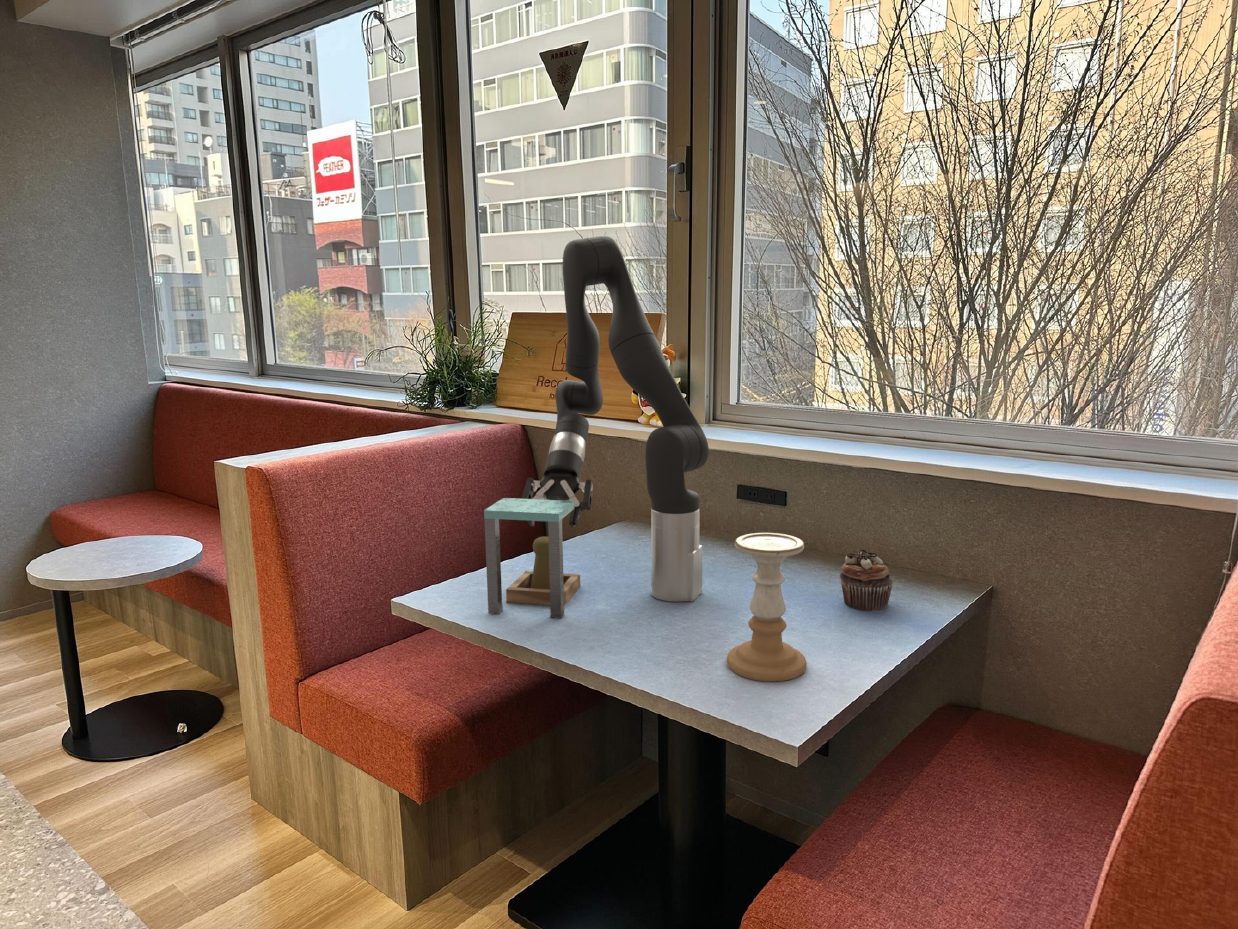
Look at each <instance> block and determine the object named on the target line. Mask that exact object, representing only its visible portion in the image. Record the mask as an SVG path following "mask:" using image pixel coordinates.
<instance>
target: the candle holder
mask: <svg viewBox="0 0 1238 929" xmlns="http://www.w3.org/2000/svg"><path fill="white" fill-rule="evenodd" d="M734 546H735V549H736V550H737V551H738V552H741V553H743V554H745V555H749V556H751V557H752V559H753V560H754V561H755V562H756V567H757V568H756V571H755V572H754V573H753V574H752V575H751V580H752V581H753V582H755V587H754V591H753V595H752V597H751V600H750V604H749V610H750V613H751V614H752V617H751V618H750V619H749V620H748V622H747V624H748V627H749V629H750V630H751V631H752V635H751V640H747V641H744V642H742V643H741V644H740V645H736V646H735V647H733V648H732V649H730V650H729V651H728V653H727V655H726V663H727V667H728V668H729V669H730V670H731V672H734V674H736V675H738V676H740V677H744V678H746V679H748V680H749V679H751V680H754V681H761V682H783V681H788V680H789V681H790V680H794V679H796V678H799V677H800V676H801V675H803V674H804V673H805V672H806V669H807V663H808V662H807V659H806V656H805V655H804V654H803V653H802V652H801V651H800V650H798V649H796V648H794V647H793V646H792V645H790V644H789V643H787V642H783V635H782V633H783V632H784V631H785V630H786V629H787V625H788V624H787V622H786V620H784V619H783V616H784V614H785V613H786V609H787V608H786V607H787V606H786V603H785V600H784V596H783V592H782V584H783V583H784V582H785V580H786V576H785V575H784V574H783V573H782V572H781V564H782V563H783V562H784V561H785V560H786V558H787V557H792V556H796V555H798V554H801V553H803V550H804V548H805V543H804V541H803V540H802V539H801V538H798V537H796V536H793V535H789V534H785V533H778V532H754V533H753V532H752V533H751V532H750V533H746V534H743V535H740V536H738V537H736V539H735V541H734Z"/></svg>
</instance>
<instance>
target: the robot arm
mask: <svg viewBox="0 0 1238 929" xmlns="http://www.w3.org/2000/svg"><path fill="white" fill-rule="evenodd" d="M562 278H563V279H562V281H563V291H564V292H563V293H564V302H565V304H564V306H565V313H566V314H565V316H566V326H567V330H566V332H567V340H566V352H565V353H566V354H565V371H566V373H568V374H569V376H572V378H573V377H574V378H576V379H578V380H574V379H572V380H571V379H565V380H562V381H561V382H559V383H558V385H557V386H556V389H555V392H554V394H555V396H554V397H555V405H556V414H557V416H556V425H555V430H554V432H553V433H554V434H553V438H552V440H551V442H550V446H549V449H548V455H547V459H546V463H545V467H544V472H543V476H542V478H541V479H540V480H534V479H533V478H532V477H528V478H527V480H526V482H525V486H524V489H523V492H522V495H521V498H520V499H541V500H564V501H574V509H573V510H572V511H571V512H570V514H569V515H570V516H569V521H568V522H569V523H568V525H569V526H570V529H575V527H576V526H578V525H579V523H580V517H581V513H582V512H583V511H591V509H592V503H593V497H594V496H593V495H594V485H593V482H592V480H591V479H589V478H588V479H586V480H585V481H580V480H581V476H582V475H581V474H582V469H583V465H584V461H585V458H586V457H585V456H586V444H587V439H588V434H589V430H590V429H589V428H590V424H589V421H588V419H587V418H586V417H585V416H583V415H588V416H595V415H596V414H598V413H599V412H600V411H601V409H602V407H603V404H604V394H603V390H602V385H601V381H600V376H599V361H600V360H599V359H600V351H601V350H600V348H601V339H600V334H599V331H598V328H597V325H596V324H595V322H594V321H593V318H592V316H591V314H589V311H588V309H587V306H586V299H585V296H586V288H587V287H590V286H595V285H602V284H604V285H605V287H606V289H607V291H608V293H609V296H610V299H611V303H612V314H611V321H610V327H609V332H608V347H609V348H608V349H609V352H610V353H611V357H612V358H613V360H614V363H615V364H616V368H617V370H618V372H619V373H620V375H621V377H622V379H623V380H624V381H625V383H626V384H628V386H629V387H631V389H632V390H634V391H635V393H637V394H638V395H639V396H640V397H641V398H642V399H643V400H644V401H645V402H647V404H648V405H649V406H650V407H651V408H652V410H654V412H655V414H656V415H657V416H658V418H659V421H660V423H661V425H662V426H660V427H657V428H654V429H653V430H652V431H651V432H650V434H649V435H648V438H647V441H646V444H645V454H644V455H645V472H646V473H645V474H646V488H647V493H648V496H649V498H650V503H651V504H650V506H651V508H650V510H651V512H650V516H651V517H650V519H651V521H650V523H651V525H650V526H651V527H650V528H651V530H650V531H651V536H650V537H651V542H650V543H651V548H650V550H651V553H650V554H651V556H650V557H651V559H650V560H651V581H650V582H651V583H650V584H651V595H652V597H654V598H656V599H657V600H661V601H666V602H684V601H685V602H687V601H688V602H694V601H695V600H696V599H697V598H698V597H699V596H700V595H701V594H702V592H703V545H702V544H700V507H701V506H700V502H701V500H700V495H699V494H698V493H697V492H696V491H694V490H691V489H688V488H687V487H686V482H685V480H686V479H685V473H688V472H692V471H693V472H694V471H696V470H698V469H699V470H700V469H701V468H703V466H705V464H706V463H707V461H708V458H709V453H710V452H709V451H710V450H709V442H708V439H707V436H706V434H705V432H704V430H703V428H702V427H701V426H702V425H701V424H700V423H699V420H698V419H697V418H696V416H695V415H694V412H693V411H692V409H691V407H690V405H689V404H688V402H687V401H686V399H685V397H684V395H683V394H682V392H681V389H680V387H679V386H678V383H677V381H676V379H675V376H674V375H673V373H672V370H671V369H670V367H669V365H668V362H667V360H666V357H665V356H664V353H663V350H662V348H661V346H660V343H659V341H658V339H657V337H656V334H655V333H654V330H653V329H652V327H651V325H650V323H649V321H648V318H647V316H646V314H645V312H644V309H643V306H642V305H641V303H640V300H639V297H638V295H637V292H636V290H635V288H634V284H633V282H632V279H631V275H630V273H629V268H628V267H627V263H626V261H625V258H624V254H623V252H622V250H621V248H620V246H619V245H618V243H617V241H615V239H613V238H612V237H610V236H607V235H606V236H605V235H600V236H593V237H585V238H578V239H574V240H571V241H569V242H567V244H566V245H565V247H564V248H563V253H562ZM579 380H580V381H579ZM538 488H540V489H539V490H538V491H537V489H538ZM580 489H581V491H582V492H583V497H582V501H579V500H578V499H577V497H576V493H577V492H579V490H580ZM535 492H536V493H535ZM534 493H535V495H534ZM526 521H527V523H528V525H529V526H530V527H535V522H536V521H529V520H526Z"/></svg>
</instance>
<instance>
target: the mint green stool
mask: <svg viewBox="0 0 1238 929" xmlns="http://www.w3.org/2000/svg"><path fill="white" fill-rule="evenodd" d="M573 509H574V501H569V500H567V501H564V500H541V499H521V498H516V497H515V498H514V497H513V498H511V497H503V498H501V499H500V500H497V501H496V502H495V503H493V504H492V505H490V506H489V507H487V508H485V509H484V510H483V513H484V514H483V516H484V517H483V519H484V538H485V561H486V562H485V564H486V586H487V587H486V588H487V589H486V590H487V591H486V592H487V610H488V611H487V612H488V614H494V615H495V614H497V615H499V614H500V613H501V612H502V611H503V593H502V591H503V590H502V568H501V567H502V566H501V565H502V564H501V562H502V561H501V542H500V539H501V537H500V536H501V535H500V520H512V521H513V520H514V521H527V520H529V521H535V522H547V526H548V527H547V531H548V536H547V537H548V538H549V575H550V605H549V606H550V607H549V608H550V611H549V612H550V619H551V618H553V619H562V618H563V617H564V616H565V606H564V579H563V573H564V543H563V539H564V538H563V520H564V518H565V517H566V516H567V515H570V514H571V511H572V510H573ZM563 615H564V616H563ZM562 616H563V617H562Z"/></svg>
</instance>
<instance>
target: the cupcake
mask: <svg viewBox="0 0 1238 929" xmlns="http://www.w3.org/2000/svg"><path fill="white" fill-rule="evenodd" d="M844 561H845V562H844V564H842V566H841V568H840V570H841V572H840V575H839V580H840V584H841V589H842V597H843V602H844V605H845V606H847V607H848V608H850V609H851V608H852V609H854V610H858V611H862V612H864V611H866V612H879V611H882V610H883V611H884V610H885V609H887V608H888V605H889V600H890V596H891V592H892V589H893V586H894V580H893V578H891V576H890V574H889V573H890V569H889V568H888V567H887V566H886V565H885V564H884V562H883V560H882V559H880V557H879V556H878V555H877V553H876V552H868V551H866V550H865V549H860V551H859V552H858V553H847V554H846V556H845V560H844Z"/></svg>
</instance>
